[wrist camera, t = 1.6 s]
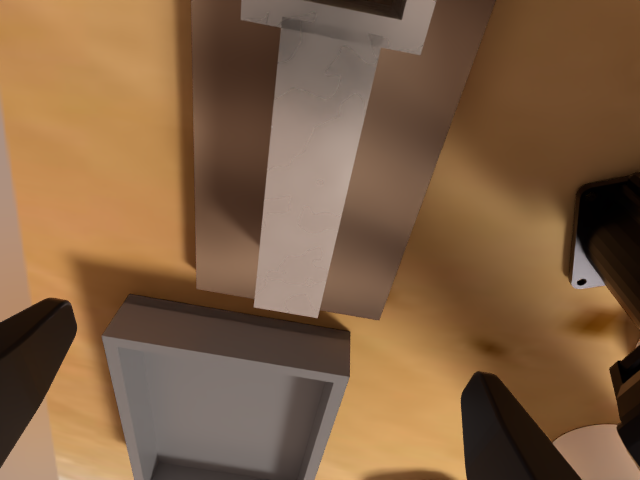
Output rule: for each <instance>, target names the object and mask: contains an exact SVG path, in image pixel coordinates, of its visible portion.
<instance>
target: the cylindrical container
mask: <svg viewBox="0 0 640 480" xmlns="http://www.w3.org/2000/svg"><path fill="white" fill-rule="evenodd" d="M616 427H617V425H615V424H602V425H592V426H587V427H582V428H579V429H575V430H573V431H570V432H568V433H565V434H564V435H562V436H560V437H558V438H557V439H556V440H555V441H554V442H553V445H554V446H555V447H556V448H557V450H558V451H559V452H560V453H561V454H562V456H563V457H564V458H565V459H566V461H567V462H568V463H569V464H570V465H571V467H572V468H573V469H574V470H575V472H576V473H577V474H578V475H579V476H580V478H581V479H582V480H640V470H639V469H638V468H637V466H636V464H635V462H634V461H633V460H632V458H631V457H630V455H629V454H628V452H627V450H626V448H625V446H624V445H623V443H622V441H621V439H620V437H619V435H618V432H617V428H616Z"/></svg>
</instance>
